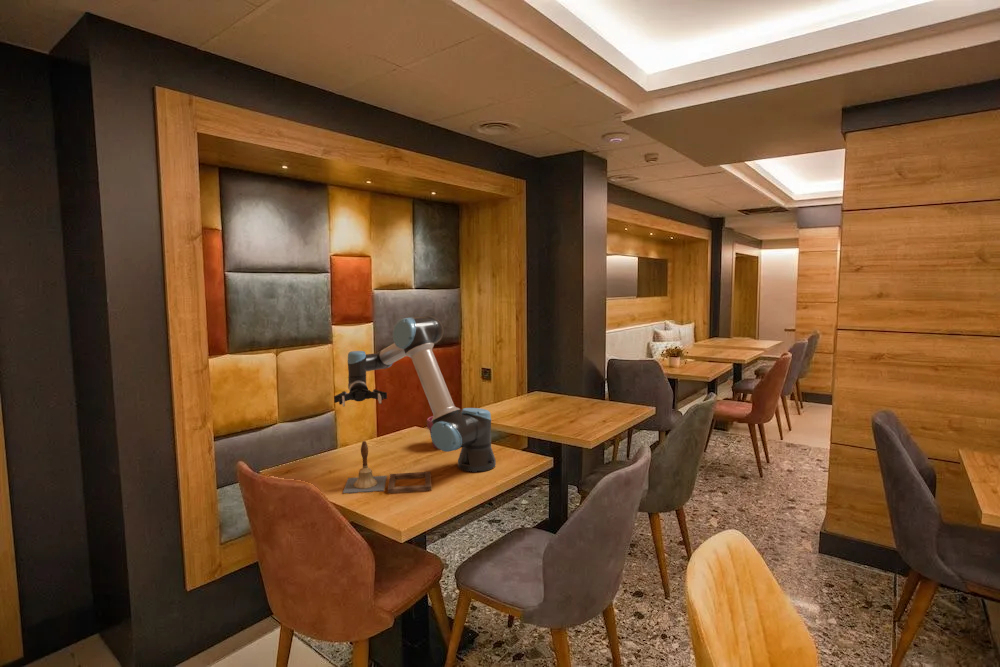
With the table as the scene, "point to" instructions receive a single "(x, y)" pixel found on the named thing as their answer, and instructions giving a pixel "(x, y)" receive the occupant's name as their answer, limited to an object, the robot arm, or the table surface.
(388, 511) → the table surface
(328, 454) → the table surface
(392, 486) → the square frame
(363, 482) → the hand bell
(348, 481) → the rubber mat
